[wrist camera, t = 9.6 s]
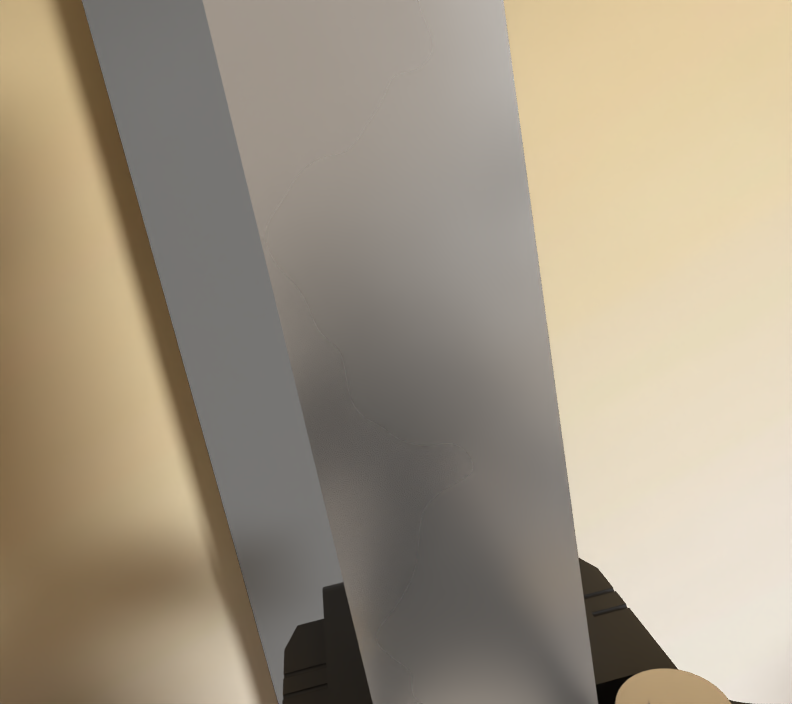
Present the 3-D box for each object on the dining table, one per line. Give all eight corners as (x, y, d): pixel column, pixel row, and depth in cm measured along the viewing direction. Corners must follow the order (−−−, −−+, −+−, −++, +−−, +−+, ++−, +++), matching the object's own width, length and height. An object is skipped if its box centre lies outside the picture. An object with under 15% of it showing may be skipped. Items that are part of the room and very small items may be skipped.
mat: (49, -142, 13) (38, -158, 12) (448, -197, 13) (455, -215, 13) (341, 910, 20) (342, 932, 19) (589, 837, 21) (598, 856, 20)
